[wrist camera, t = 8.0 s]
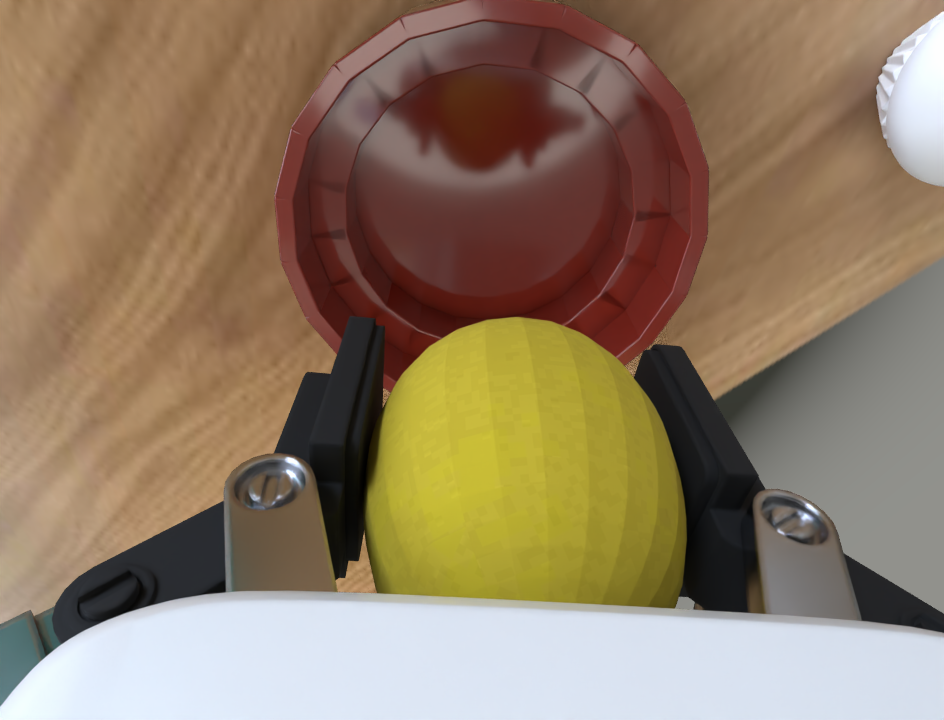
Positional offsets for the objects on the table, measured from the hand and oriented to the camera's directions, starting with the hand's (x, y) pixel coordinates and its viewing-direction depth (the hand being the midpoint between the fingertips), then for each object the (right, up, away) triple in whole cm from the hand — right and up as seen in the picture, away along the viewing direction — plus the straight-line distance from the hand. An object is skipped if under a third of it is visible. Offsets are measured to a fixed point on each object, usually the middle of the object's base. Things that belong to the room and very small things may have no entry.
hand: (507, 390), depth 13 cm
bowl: (0, +7, +11) cm, 13 cm away
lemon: (0, +1, +1) cm, 1 cm away
